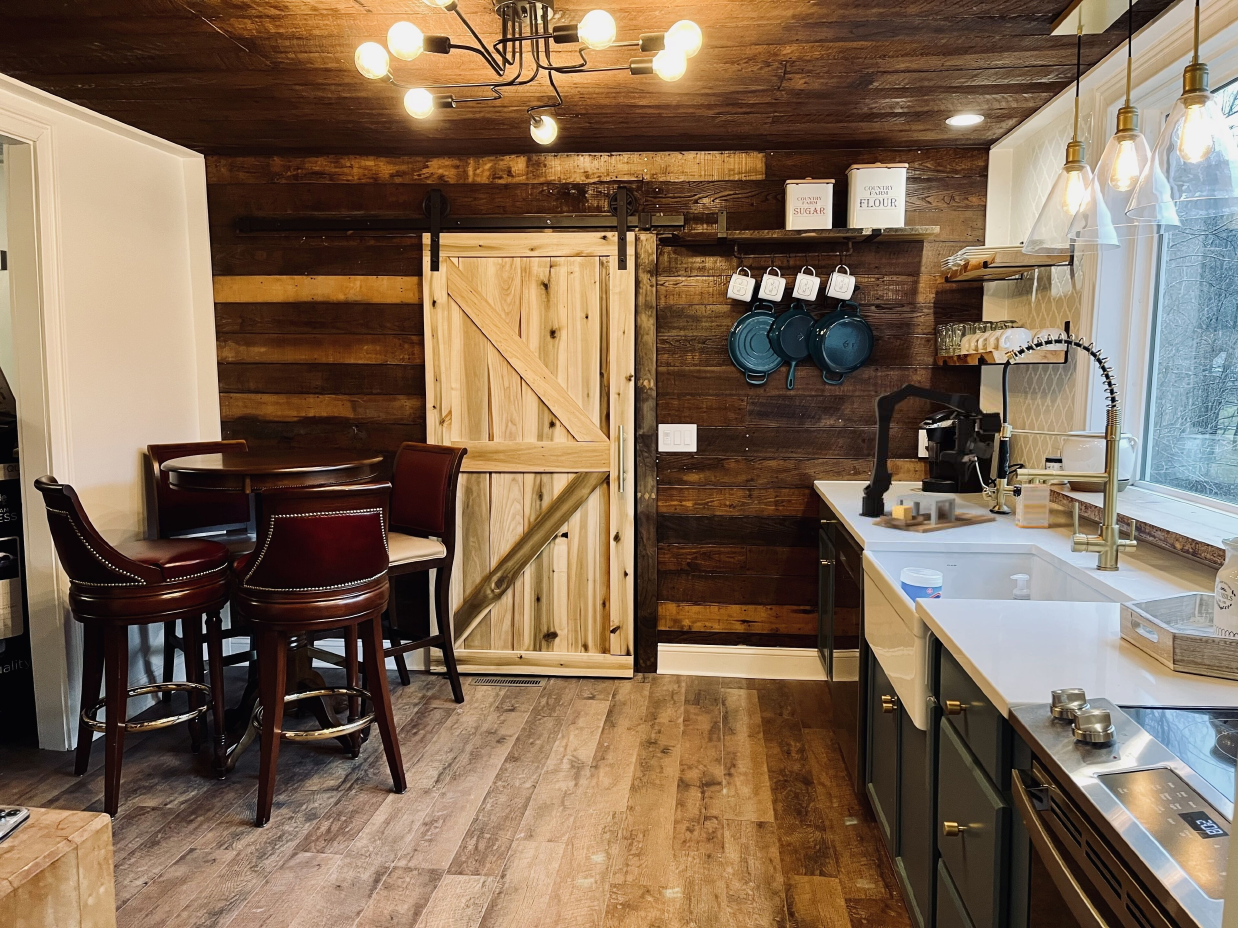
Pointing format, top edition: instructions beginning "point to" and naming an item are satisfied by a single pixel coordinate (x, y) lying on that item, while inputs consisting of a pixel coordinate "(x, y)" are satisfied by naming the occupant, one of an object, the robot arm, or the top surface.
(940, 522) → the base board
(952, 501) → the grey small table
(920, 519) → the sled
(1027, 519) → the supplement box
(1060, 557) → the top surface
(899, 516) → the ochre block
